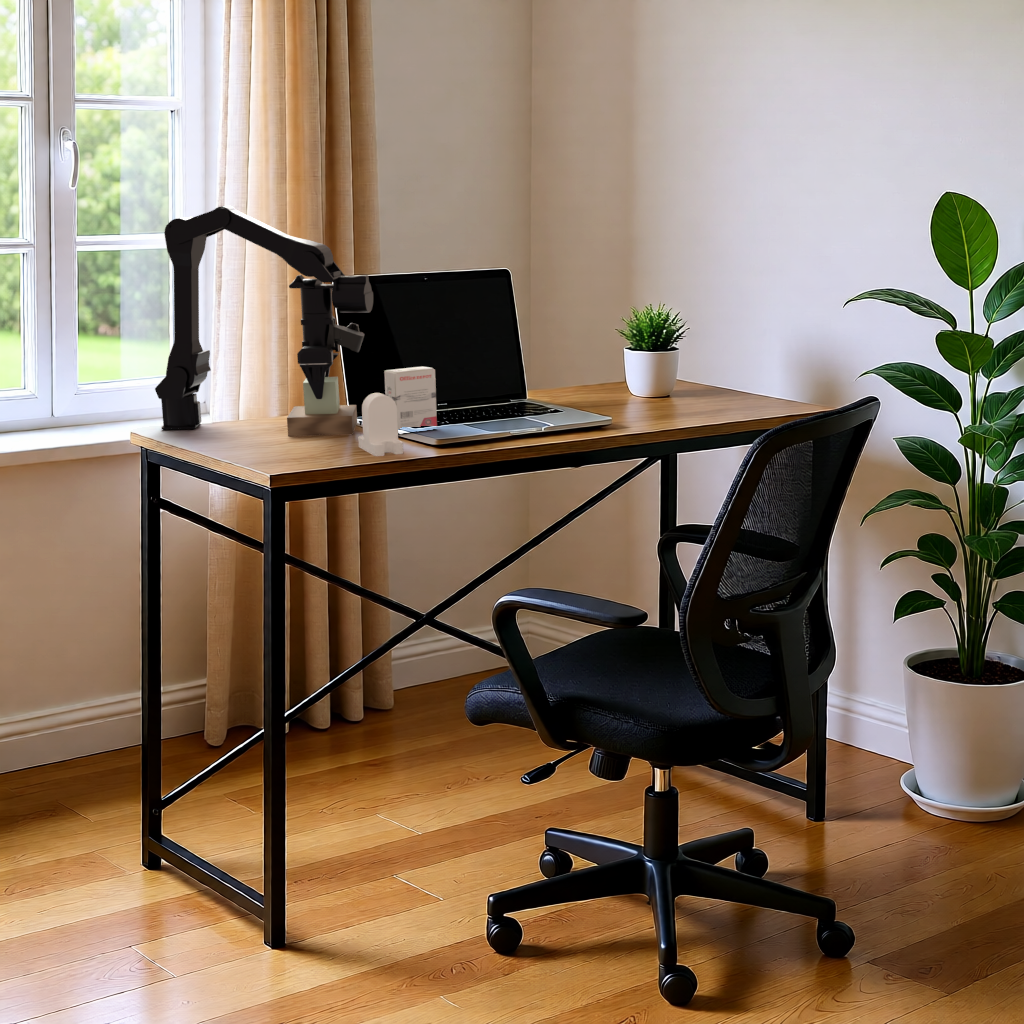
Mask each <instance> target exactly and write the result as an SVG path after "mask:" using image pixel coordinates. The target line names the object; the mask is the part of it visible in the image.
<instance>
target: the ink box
mask: <svg viewBox="0 0 1024 1024" xmlns="http://www.w3.org/2000/svg"><path fill="white" fill-rule="evenodd" d="M383 371H384V372H383V374H384V390H385V391H384V393H385V394H384V395H386V396H388V397H390V398H392V399H393V400H394V402H395V404H396V406H397V423H398V429H400V428H402V427H421V426H437V427H438V421H437V420H438V418H437V414H438V413H437V388H436V386H437V385H436V383H437V382H436V380H437V379H436V369H434V368H433V367H429V366H422V365H421V366H413V367H412V366H411V367H406V368H405V367H404V368H395V369H386V370H383Z"/></svg>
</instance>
